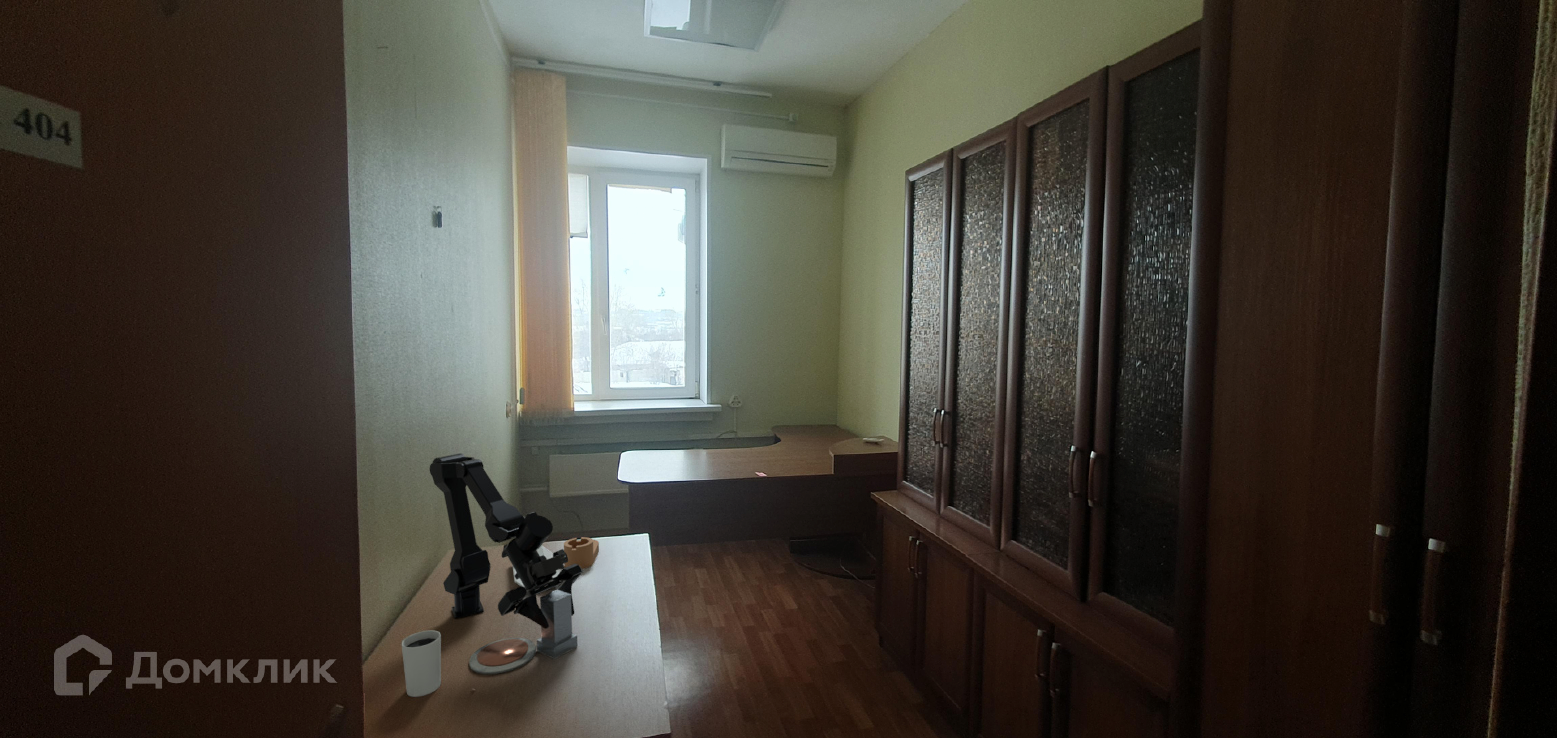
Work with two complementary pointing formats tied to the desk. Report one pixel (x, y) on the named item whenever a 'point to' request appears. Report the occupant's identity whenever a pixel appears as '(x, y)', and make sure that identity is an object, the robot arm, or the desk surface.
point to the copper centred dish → (502, 656)
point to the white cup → (422, 662)
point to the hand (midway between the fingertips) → (560, 621)
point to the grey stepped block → (556, 625)
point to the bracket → (581, 551)
